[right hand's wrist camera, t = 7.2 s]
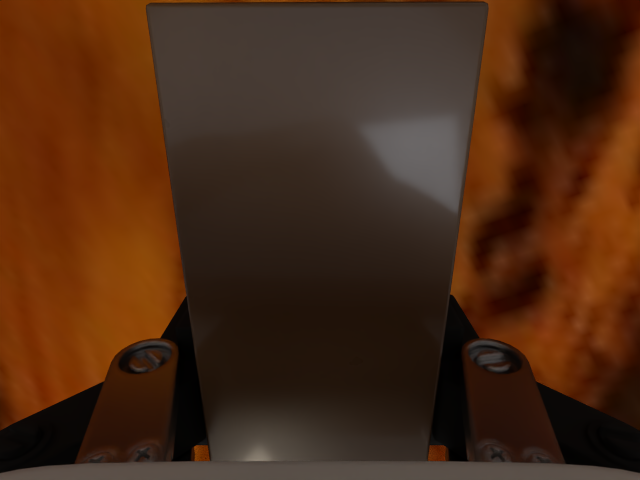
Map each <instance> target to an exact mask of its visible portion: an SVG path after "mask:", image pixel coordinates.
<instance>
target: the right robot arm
mask: <svg viewBox="0 0 640 480" xmlns="http://www.w3.org/2000/svg"><path fill="white" fill-rule="evenodd" d="M196 445H208V443H207V436H206V429H205V422H204V414H203V407H202V400H201V393H200V386H199V379H198V372H197V365H196V358H195V351H194V344H193V337H192V330H191V323H190V316H189V309H188V302H187V296H186V297H185V299H184V300H183V302H182V304H181V305H180V307H179V309H178V310H177V312H176V313H175V315H174V317H173V318H172V320H171V322H170V323H169V325H168V326H167V328H166V330H165V331H164V333H163V335H162V336H161V338H156V339H147V340H142V341H139V342H136V343H133V344H131V345H129V346H127V347H126V348H124V349H122V350H121V351H120V352H119V353H118V354H117V355H115V357H114V358H113V360H112V362H111V364H110V367H109V370H108V372H107V375H106V378H105V381H104V382H102V383H99V384H97V385H95V386H93V387H91V388H89V389H87V390H84V391H82V392H80V393H78V394H76V395H74V396H72V397H69V398H67V399H65V400H63V401H61V402H59V403H57V404H54V405H52V406H50V407H48V408H46V409H44V410H42V411H39V412H37V413H35V414H33V415H31V416H29V417H27V418H24V419H22V420H20V421H18V422H16V423H14V424H12V425H10V426H8V427H6V428H4V429H3V430H1V431H0V480H640V431H639V430H637V429H635V428H634V427H632V426H630V425H628V424H626V423H624V422H622V421H620V420H617V419H615V418H613V417H611V416H609V415H607V414H605V413H602V412H600V411H598V410H596V409H594V408H592V407H590V406H587V405H585V404H583V403H581V402H579V401H577V400H575V399H572V398H570V397H568V396H566V395H564V394H562V393H560V392H557V391H555V390H553V389H551V388H549V387H547V386H545V385H542V384H540V383H538V382H536V381H535V378H534V375H533V372H532V370H531V367H530V364H529V362H528V360H527V358H526V357H525V355H523V354H522V353H521V352H520V351H519V350H518V349H516V348H514V347H513V346H511V345H509V344H507V343H504V342H501V341H498V340H493V339H484V338H479V337H478V335H477V333H476V332H475V330H474V329H473V327H472V325H471V324H470V322H469V320H468V319H467V317H466V315H465V314H464V312H463V311H462V309H461V307H460V306H459V304H458V302H457V301H456V299H455V298H454V296H453V295H450V298H449V305H448V313H447V320H446V328H445V335H444V342H443V350H442V357H441V365H440V372H439V380H438V387H437V394H436V402H435V409H434V417H433V424H432V432H431V439H430V445H444V446H446V452H445V461H195V452H194V446H196Z"/></svg>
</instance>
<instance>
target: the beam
mask: <svg viewBox="0 0 640 480" xmlns="http://www.w3.org/2000/svg"><path fill="white" fill-rule="evenodd" d="M146 13H147V20H148V27H149V34H150V41H151V48H152V55H153V62H154V70H155V77H156V84H157V91H158V98H159V105H160V112H161V119H162V126H163V133H164V140H165V147H166V154H167V161H168V168H169V175H170V182H171V189H172V196H173V203H174V210H175V217H176V224H177V231H178V238H179V246H180V253H181V260H182V267H183V274H184V281H185V288H186V295H187V302H188V309H189V316H190V323H191V330H192V337H193V344H194V351H195V358H196V365H197V372H198V379H199V386H200V393H201V400H202V407H203V414H204V422H205V429H206V436H207V443H208V450H209V457H210V461H428V454H429V446H430V439H431V432H432V424H433V417H434V409H435V402H436V394H437V387H438V380H439V372H440V365H441V357H442V350H443V342H444V335H445V328H446V320H447V313H448V305H449V298H450V290H451V283H452V276H453V268H454V261H455V253H456V246H457V238H458V231H459V224H460V216H461V209H462V201H463V194H464V186H465V179H466V172H467V164H468V157H469V149H470V142H471V135H472V127H473V120H474V112H475V105H476V97H477V90H478V83H479V75H480V68H481V60H482V53H483V45H484V38H485V31H486V23H487V16H488V4H487V3H485V2H230V3H149V4H148V5H146Z"/></svg>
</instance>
